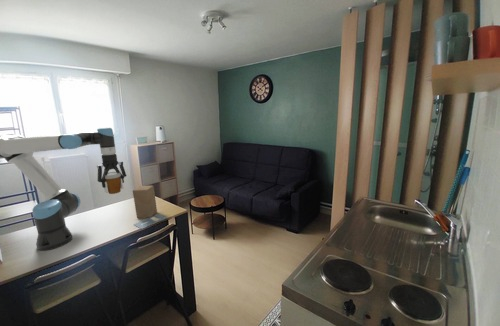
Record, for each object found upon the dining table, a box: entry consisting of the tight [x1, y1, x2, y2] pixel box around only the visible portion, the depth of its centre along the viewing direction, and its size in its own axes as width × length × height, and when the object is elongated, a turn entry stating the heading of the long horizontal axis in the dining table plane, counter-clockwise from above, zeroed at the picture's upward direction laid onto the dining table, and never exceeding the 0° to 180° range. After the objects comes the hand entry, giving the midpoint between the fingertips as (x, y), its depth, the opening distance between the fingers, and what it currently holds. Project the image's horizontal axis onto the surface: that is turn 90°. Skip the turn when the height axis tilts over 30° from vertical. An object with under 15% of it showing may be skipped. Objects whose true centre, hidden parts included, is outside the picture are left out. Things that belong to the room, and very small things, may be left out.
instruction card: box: [133, 213, 168, 230], centre depth 146 cm, size 18×10×1 cm, turn 145°
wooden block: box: [132, 185, 158, 219], centre depth 153 cm, size 10×10×20 cm
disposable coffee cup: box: [105, 171, 122, 195], centre depth 134 cm, size 10×10×12 cm
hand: (114, 190), depth 135 cm, fingers closed on disposable coffee cup, 8 cm apart
